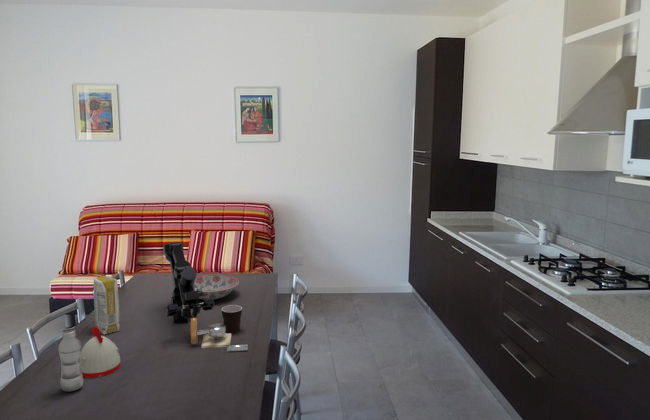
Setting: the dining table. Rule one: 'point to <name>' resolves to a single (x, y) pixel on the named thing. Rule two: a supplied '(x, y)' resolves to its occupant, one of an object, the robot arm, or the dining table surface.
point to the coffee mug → (232, 318)
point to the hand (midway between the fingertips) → (194, 326)
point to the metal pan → (206, 330)
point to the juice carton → (106, 304)
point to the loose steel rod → (237, 348)
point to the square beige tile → (216, 341)
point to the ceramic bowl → (215, 285)
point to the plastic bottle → (70, 361)
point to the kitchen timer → (99, 356)
